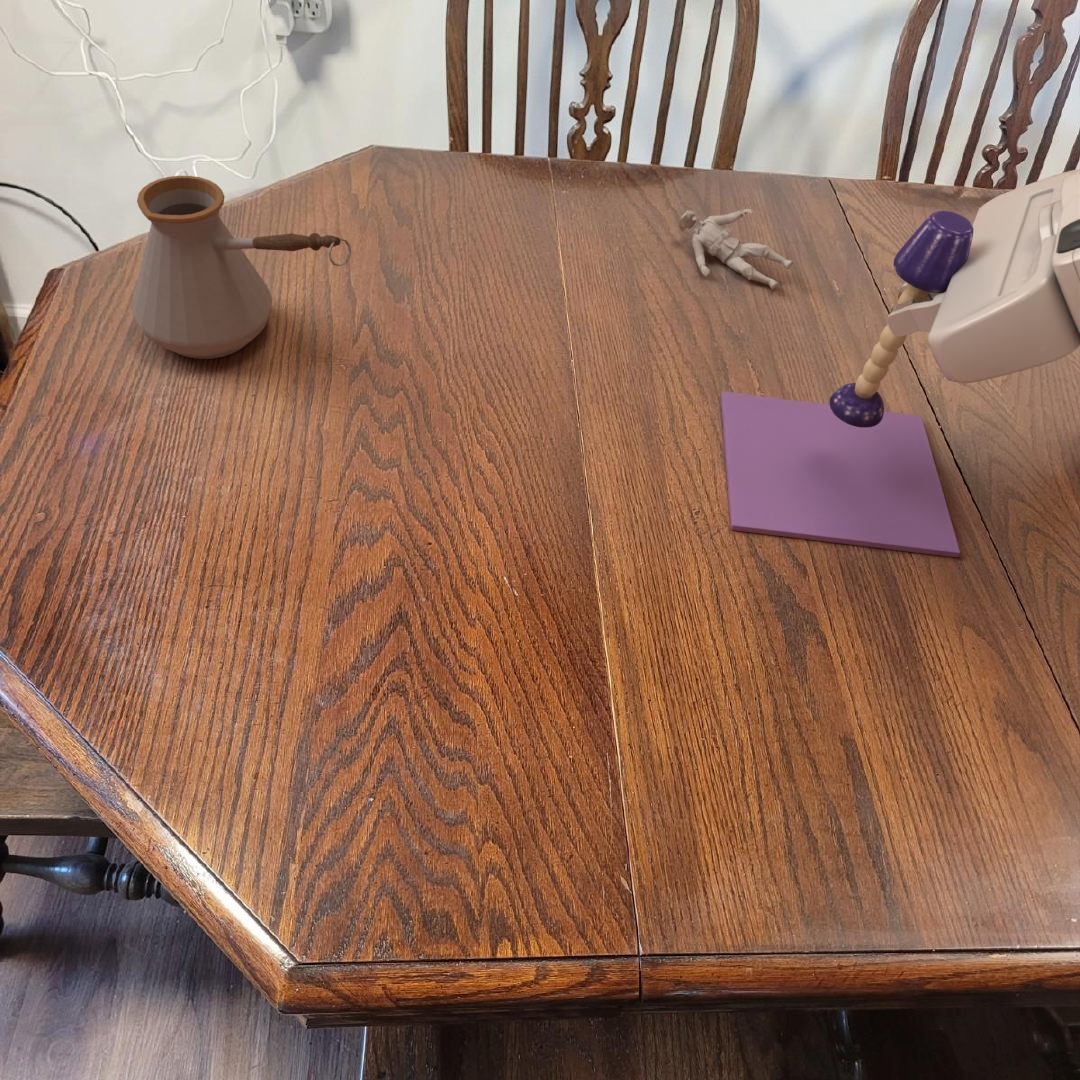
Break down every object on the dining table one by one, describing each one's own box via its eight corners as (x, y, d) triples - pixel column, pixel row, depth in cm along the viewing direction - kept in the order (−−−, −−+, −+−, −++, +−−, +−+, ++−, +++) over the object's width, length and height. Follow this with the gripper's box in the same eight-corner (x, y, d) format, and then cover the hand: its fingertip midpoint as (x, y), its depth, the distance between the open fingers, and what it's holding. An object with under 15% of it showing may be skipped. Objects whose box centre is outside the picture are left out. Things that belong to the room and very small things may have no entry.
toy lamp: (895, 410, 74) (995, 218, 62) (877, 442, 71) (977, 247, 59) (839, 385, 76) (925, 192, 63) (818, 415, 73) (904, 220, 60)
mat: (918, 420, 84) (921, 415, 84) (957, 557, 74) (960, 552, 73) (720, 395, 84) (721, 390, 83) (730, 530, 73) (732, 525, 73)
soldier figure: (756, 312, 94) (660, 240, 94) (750, 317, 99) (658, 249, 99) (806, 247, 93) (708, 174, 93) (797, 256, 98) (704, 186, 98)
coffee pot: (109, 340, 80) (58, 175, 69) (203, 277, 87) (171, 118, 76) (311, 439, 75) (292, 278, 64) (394, 364, 82) (390, 207, 71)
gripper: (1113, 122, 62) (910, 209, 72) (1080, 267, 50) (840, 348, 59) (1143, 206, 65) (943, 279, 74) (1119, 364, 52) (882, 427, 62)
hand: (897, 311), depth 67 cm, fingers closed on toy lamp
